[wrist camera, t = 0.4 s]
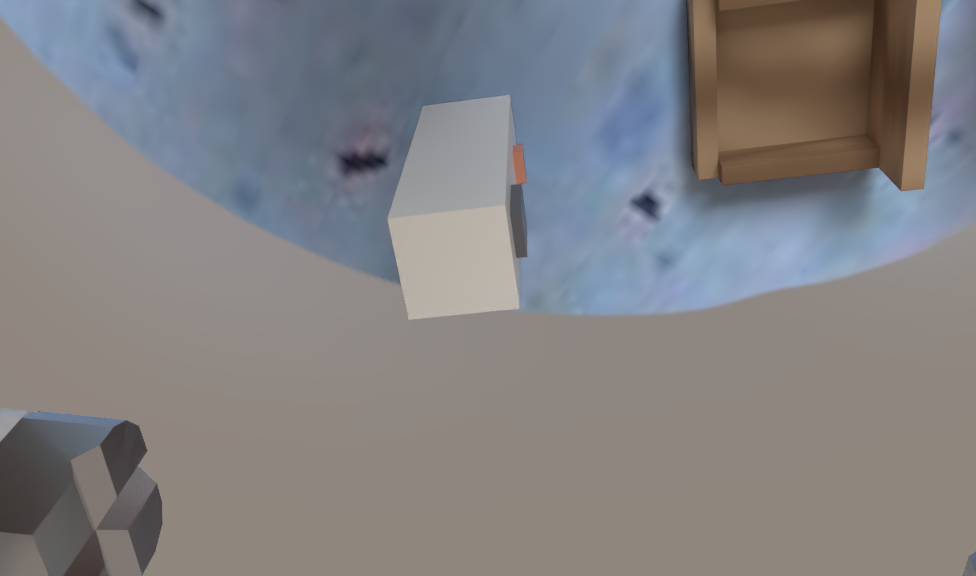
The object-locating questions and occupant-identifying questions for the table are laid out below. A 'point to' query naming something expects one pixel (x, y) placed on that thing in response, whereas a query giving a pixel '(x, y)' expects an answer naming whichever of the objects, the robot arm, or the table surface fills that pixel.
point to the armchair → (811, 87)
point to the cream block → (461, 211)
